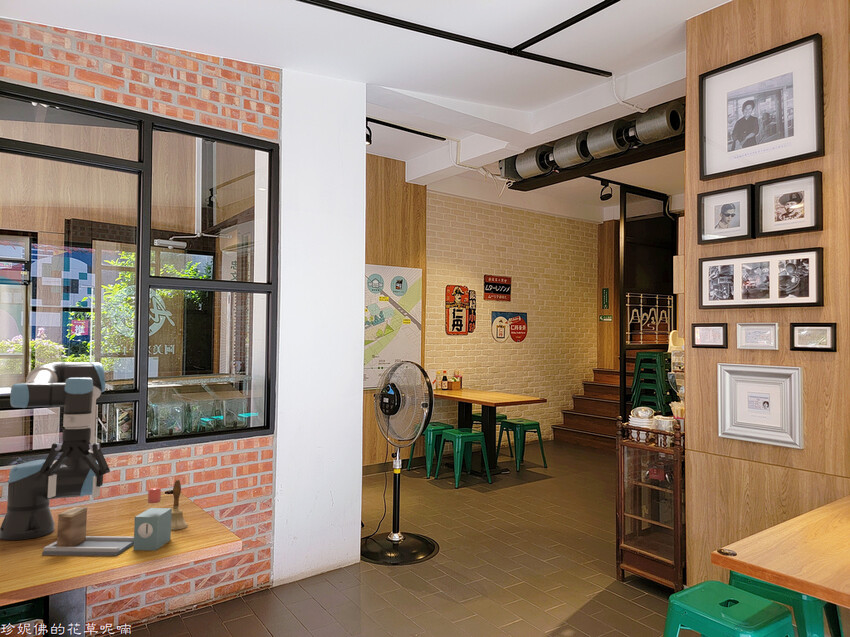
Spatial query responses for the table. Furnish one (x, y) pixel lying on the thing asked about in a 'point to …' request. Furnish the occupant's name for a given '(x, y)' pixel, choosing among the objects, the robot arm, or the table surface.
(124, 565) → the table surface
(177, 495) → the hand bell
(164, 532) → the cabinet
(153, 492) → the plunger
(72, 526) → the tan rectangular block
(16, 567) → the table surface
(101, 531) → the table surface
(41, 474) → the robot arm
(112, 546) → the track
